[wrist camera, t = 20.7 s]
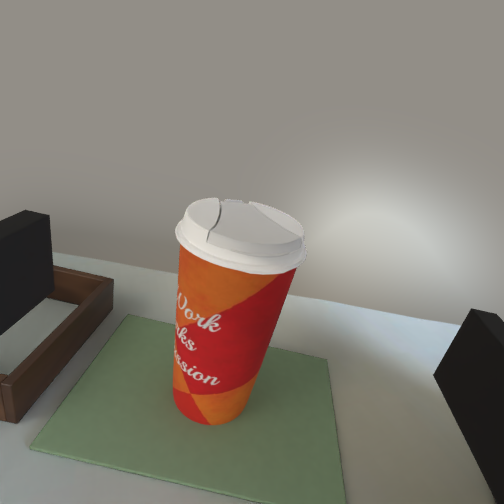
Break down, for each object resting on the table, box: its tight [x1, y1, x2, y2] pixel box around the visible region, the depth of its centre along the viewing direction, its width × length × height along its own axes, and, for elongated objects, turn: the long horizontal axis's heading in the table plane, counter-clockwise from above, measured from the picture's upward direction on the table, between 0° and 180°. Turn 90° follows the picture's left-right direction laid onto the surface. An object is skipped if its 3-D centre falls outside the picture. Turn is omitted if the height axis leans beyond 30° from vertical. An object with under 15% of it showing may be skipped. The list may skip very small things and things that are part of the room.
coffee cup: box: [173, 198, 307, 425], centre depth 24 cm, size 8×8×15 cm
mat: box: [30, 314, 346, 504], centre depth 27 cm, size 20×14×1 cm
